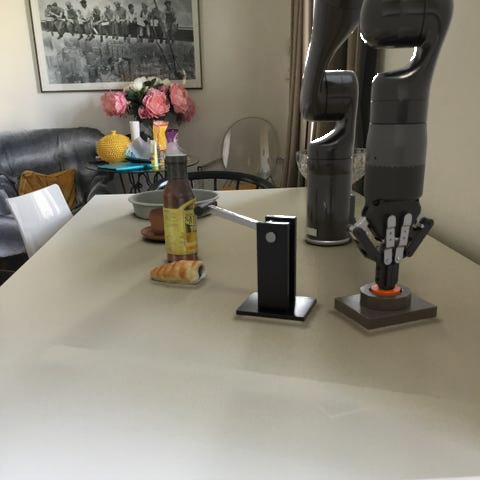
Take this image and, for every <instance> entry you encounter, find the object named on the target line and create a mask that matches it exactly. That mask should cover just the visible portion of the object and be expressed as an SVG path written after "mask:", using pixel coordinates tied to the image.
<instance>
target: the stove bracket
mask: <svg viewBox="0 0 480 480" xmlns="http://www.w3.org/2000/svg"><path fill="white" fill-rule="evenodd" d="M271 220H275V221H278V222H269V221H271ZM257 221H258V222H257V223H256V232H255V233H256V273H257V274H256V275H257V276H256V280H257V282H256V283H257V292H256V291H255V292H252V294H250V295H249V296H248V298H246V300H244V302H243V303H241V305H240V306H239V307H238V308H237V309H236V310H235V315H236V316H237V315H238V316H248V317H257V318H266V319H274V320H285V321H295V322H302V323H303V322H306V320H307V318H308V316H309V315H310V313H311V311H312V310H313V309H314V307H315V306H316V304H317V301H318V297H307V296H297V242H298V241H297V234H298V233H297V231H298V230H297V229H298V228H297V227H298V226H297V225H298V224H297V223H298V222H297V221H298V217H297V216H295V215H273V214H272V215H271V214H267V215H265V216H264V221H261V220H257ZM289 225H290V229H289Z"/></svg>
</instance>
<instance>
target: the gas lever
mask: <svg viewBox="0 0 480 480" xmlns="http://www.w3.org/2000/svg"><path fill="white" fill-rule="evenodd" d="M205 213H210V214H209V215H213V216H216V217H219V218H221V219H224V220H228V221H230V222H233V223H236V224H239V225H241V226H245V227H247V228H250V229H253V230H256V223H257V222H258V221H259V220H257V219H253V218H251V217H248V216H245V215H242V214H240V213H237V212H234V211H232V210H231V211H230V210H228V209H225V208H222V207H220V206H218V201H217V199H216V200H215V199H211V200H209V201H207V202H204V203H202V204H200V205H198V206H196V207H195V208H194V214H195V215H196V216H202V215H203V214H205ZM269 222H278V221H275V220H271V221H269ZM289 229H290V225H289Z"/></svg>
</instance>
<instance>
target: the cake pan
mask: <svg viewBox="0 0 480 480" xmlns="http://www.w3.org/2000/svg"><path fill="white" fill-rule="evenodd" d="M163 190H164V189H154V190H149V191H142V192H137V193H135V194H132V195H130V196H129V197H128V198H127V200H128V202H129V203H130V204H132V207H133V210H134V214H135V216H137V217H138V218H141V219H144V220H149V214H150V210H152V209H156V208H163ZM192 190H193V193H194V195H195V198H196V206H198V205H200V204H202V203H204V202H207V201H209V200H211V199H215V200H216V201H217V200H218V199H219V198H220V197H221V194H220V193H219V192H217V191H214V190H209V189H201V188H192ZM210 215H211V214H210V213H205V214H203V215H202V216H197V218H202V217H206V216H210Z"/></svg>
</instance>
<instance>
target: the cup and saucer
mask: <svg viewBox="0 0 480 480" xmlns="http://www.w3.org/2000/svg"><path fill="white" fill-rule="evenodd" d="M148 221H149V223H150V225H148V226H145V227H143V228H142V229H140V234H141V235H142V236H143V237H144V238H146V239H148V240H152V241H162V242H163V241H164V242H165V231H164V216H163V208H156V209H152V210H150V214H149V219H148Z"/></svg>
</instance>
